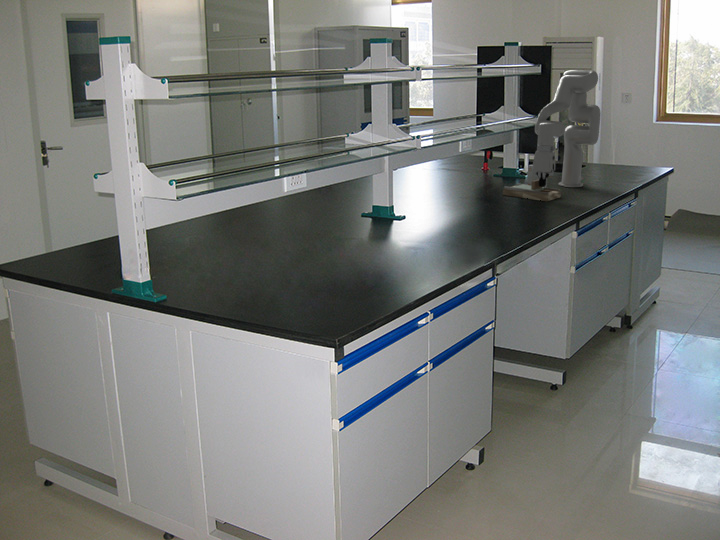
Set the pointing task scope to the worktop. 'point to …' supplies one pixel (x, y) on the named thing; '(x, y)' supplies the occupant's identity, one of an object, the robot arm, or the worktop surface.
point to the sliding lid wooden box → (533, 193)
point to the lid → (533, 187)
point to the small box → (532, 176)
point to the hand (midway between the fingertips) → (542, 186)
